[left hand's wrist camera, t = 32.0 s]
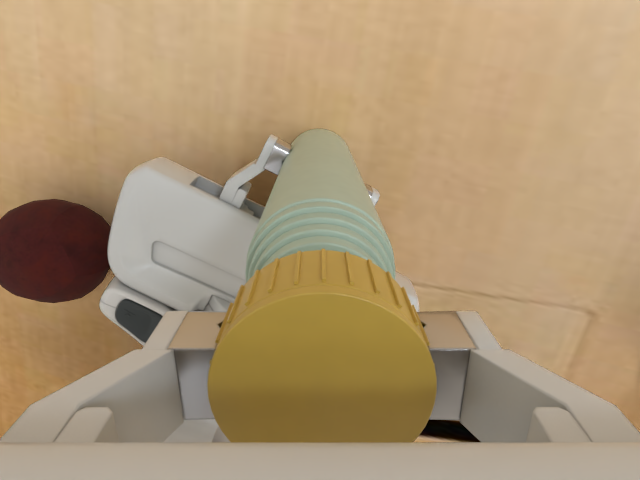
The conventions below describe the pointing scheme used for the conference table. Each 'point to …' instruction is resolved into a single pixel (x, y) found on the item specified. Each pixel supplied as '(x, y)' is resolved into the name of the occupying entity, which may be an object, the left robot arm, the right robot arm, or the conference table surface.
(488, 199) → the conference table surface
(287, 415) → the cap
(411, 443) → the left robot arm
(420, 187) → the conference table surface
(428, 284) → the conference table surface
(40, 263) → the potato
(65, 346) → the conference table surface
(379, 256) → the bottle
